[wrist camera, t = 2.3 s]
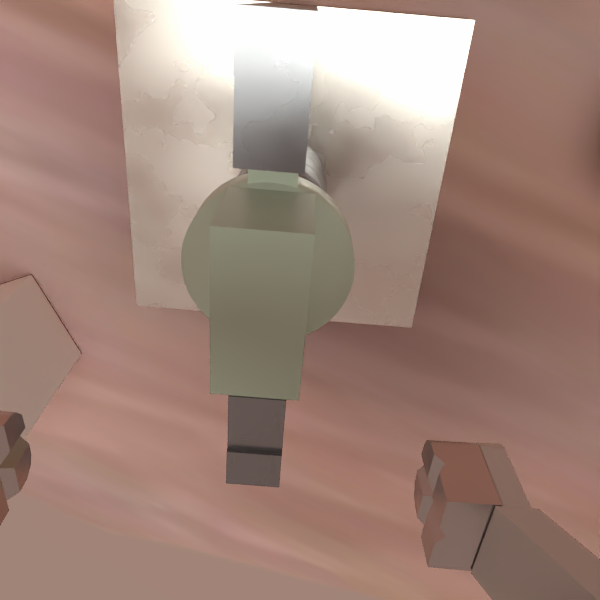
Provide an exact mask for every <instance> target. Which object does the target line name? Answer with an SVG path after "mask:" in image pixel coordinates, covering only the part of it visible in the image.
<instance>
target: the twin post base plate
mask: <svg viewBox="0 0 600 600" xmlns="http://www.w3.org/2000/svg"><path fill="white" fill-rule="evenodd" d="M114 13H115V26H116V39H117V52H118V66H119V79H120V92H121V105H122V118H123V131H124V145H125V158H126V171H127V184H128V197H129V210H130V224H131V237H132V250H133V263H134V276H135V289H136V302H137V306H147V307H159V308H172V309H184V310H197V311H201V310H200V309H199V308H198V307H197V305H196V304H195V302H194V301H193V300H192V298H191V296H190V294H189V292H188V290H187V288H186V285H185V283H184V279H183V275H182V269H181V250H182V244H183V240H184V237H185V234H186V232H187V229H188V228H189V226H190V224H191V222H192V220H193V218H194V217H195V215H196V213H197V211H198V209H199V208H200V206H201V205H202V203H203V202H204V201H205V199H206V198H207V197H208V196H209V195H210V194H211V193H212V192H213V191H214V190H215V189H217V188H218V187H219V186H220V185H222V184H223V183H225V182H227V181H229V180H230V179H233V178H235V177H238V176H240V175H243V174H247V173H248V169H251V170H263V171H275V172H286V173H298V176H299V177H301V178H304V179H306V180H308V181H310V182H312V183H313V184H315V185H317V186H318V187H319V188H321V189H322V190H323V191H325V192H326V193H327V194H328V195H329V196H330V197H331V198H332V199H333V200H334V201H335V203H336V204H337V205H338V207H339V208H340V209H341V211H342V213H343V215H344V217H345V219H346V221H347V224H348V226H349V230H350V234H351V238H352V245H353V252H354V262H355V270H354V279H353V283H352V287H351V290H350V292H349V295H348V297H347V299H346V301H345V303H344V304H343V306H342V307H341V308H340V310H339V311H338V313H337V314H336V315H335V316H334V317H333V318H332V319H331V320H330V321H334V322H347V323H359V324H372V325H384V326H397V327H409V328H412V324H413V319H414V314H415V309H416V304H417V299H418V295H419V290H420V285H421V280H422V275H423V270H424V266H425V261H426V256H427V251H428V246H429V241H430V236H431V232H432V227H433V222H434V217H435V212H436V207H437V202H438V198H439V193H440V188H441V183H442V178H443V173H444V168H445V164H446V159H447V154H448V149H449V144H450V139H451V135H452V130H453V125H454V120H455V115H456V110H457V105H458V101H459V96H460V91H461V86H462V81H463V76H464V71H465V67H466V62H467V57H468V52H469V47H470V42H471V37H472V33H473V28H474V23H475V20H469V19H457V18H446V17H435V16H423V15H412V14H401V13H389V12H378V11H367V10H355V9H344V8H333V7H321V6H310V5H299V4H287V3H276V2H265V1H253V0H114ZM285 408H286V399H273V398H260V397H247V396H234V395H229V396H228V448H227V467H226V483H229V484H242V485H255V486H268V487H279V480H280V468H281V456H282V444H283V432H284V420H285Z"/></svg>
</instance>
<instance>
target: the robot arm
mask: <svg viewBox="0 0 600 600" xmlns="http://www.w3.org/2000/svg"><path fill="white" fill-rule="evenodd" d="M24 429H25V424H24V420H23V417H22V415H21V414H19V413H17V412H9V411H0V525H1V523H2V522H3V520H4V518H5V516H6V515H7V513H8V511H9V508H8V505H7V500H8V499H10V498H11V497H13V496H14V495H16V494H17V493H19V492H20V491H21V489H22V487H23V485H24V484H25V482H26V480H27V477H28V473H29V469H30V466H31V451H30V446H29V444H28V443H27V442H26V441H25V440H24V439H23V438H22V437H21V436H20V435H21V434H22V432H23V431H24ZM422 458H423V463H424V466H422V467H421V468H420V469H419V470H417V475H416V480H415V490H414V499H415V508H416V514H417V518H418V519H419V520H420V521H421V522H422V523H423V524H424V528H423V532H422V536H421V538H422V542H423V547H424V552H425V556H426V561H427V565H428V567H434V568H445V569H456V570H467V571H472V572H471V574H472V575H473V576H474V577H475V579H476V580H477V581H478V582H479V584H480V585H481V586H482V587H483V589H484V590H485V591H486V592H487V594H488V595H489V596H490V597H491V599H492V600H600V559H599V558H597V557H596V556H595V555H594V554H593V553H591V552H590V551H589V550H588V549H587V548H585V547H584V546H583V545H582V544H581V543H579V542H578V541H577V540H576V539H574V538H573V537H572V536H571V535H570V534H568V533H567V532H566V531H565V530H564V529H562V528H561V527H560V526H559V525H558V524H556V523H555V522H554V521H553V520H552V519H550V518H549V517H548V516H547V515H546V514H544V513H543V512H542V511H541V510H539V509H533V508H531V506H530V504H529V502H528V500H527V497H526V495H525V493H524V491H523V488H522V486H521V484H520V482H519V479H518V477H517V475H516V473H515V470H514V468H513V466H512V464H511V461H510V459H509V457H508V455H507V452H506V450H505V448H504V447H503V446H502V445H501V444H490V443H467V442H450V441H434V440H427V441H426V443H425V444H424V447H423V451H422Z"/></svg>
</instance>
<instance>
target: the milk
mask: <svg viewBox="0 0 600 600" xmlns="http://www.w3.org/2000/svg"><path fill="white" fill-rule="evenodd" d="M80 355H81V352H80V351H79V349H78V348H77V346H76V344H75V343H74V341H73V340H72V338H71V336H70V335H69V333H68V332H67V330H66V329H65V327H64V325H63V324H62V322H61V321H60V319H59V317H58V316H57V314H56V313H55V311H54V309H53V308H52V306H51V305H50V303H49V302H48V300H47V298H46V297H45V295H44V294H43V292H42V290H41V289H40V287H39V286H38V284H37V283H36V281H35V279H34V278H33V276H32V275H29V276H26V277H22V278H19V279H16V280H13V281H10V282H7V283H4V284H1V285H0V411H9V412H17V413H19V414H21V415H22V417H23V420H24V424H25V429H24V431H23V432H22V434H21V435H20V436H21V437H22V438H23V439H25V438H26V436H27V435H28V433H29V432H30V430H31V429H32V427H33V426H34V424H35V423H36V421H37V420H38V418H39V417H40V415H41V414H42V412H43V411H44V409H45V408H46V406H47V405H48V403H49V402H50V400H51V399H52V397H53V396H54V394H55V393H56V391H57V390H58V388H59V387H60V385H61V384H62V382H63V381H64V379H65V378H66V376H67V375H68V373H69V372H70V370H71V369H72V367H73V366H74V364H75V363H76V361H77V360H78V358H79V357H80Z"/></svg>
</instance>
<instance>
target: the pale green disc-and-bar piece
mask: <svg viewBox="0 0 600 600" xmlns="http://www.w3.org/2000/svg"><path fill="white" fill-rule="evenodd" d="M181 269H182V275H183V279H184V283H185V285H186V288H187V290H188V292H189V294H190V296H191V298H192V300H193V301H194V302H195V304H196V305H197V307H198V308H199V309H200V310H201V311H202V312H203V313H204V314H205V316H206V317H208V318H209V319H210V394H221V395H234V396H247V397H260V398H273V399H286V400H298V401H299V396H300V386H301V376H302V365H303V355H304V345H305V335H307V334H309V333H312V332H314V331H315V330H317V329H319V328H320V327H322V326H323V325H325V324H326V323H327V322H328V321H330V320H331V319H332V318H333V317H334V316H335V315H336V314H337V313H338V311H339V310H340V308H341V307H342V306H343V304H344V303H345V301H346V299H347V297H348V295H349V292H350V290H351V287H352V283H353V279H354V270H355V262H354V252H353V245H352V238H351V234H350V230H349V226H348V224H347V221H346V219H345V217H344V215H343V213H342V211H341V209H340V208H339V207H338V205H337V204H336V203H335V201H334V200H333V199H332V198H331V197H330V196H329V195H328V194H327V193H326V192H325V191H323V190H322V189H321V188H319V187H318V186H317V185H315V184H313V183H312V182H310V181H308V180H306V179H304V178H301V177H299V176H298V173H286V172H275V171H263V170H251V169H248V173H247V174H243V175H240V176H238V177H235V178H233V179H230V180H229V181H227V182H225V183H223V184H222V185H220V186H219V187H218V188H217V189H215V190H214V191H213V192H212V193H211V194H210V195H209V196H208V197H207V198H206V199H205V201H204V202H203V203H202V205H201V206H200V208H199V209H198V211H197V213H196V215H195V217H194V218H193V220H192V222H191V224H190V226H189V228H188V229H187V232H186V234H185V237H184V240H183V244H182V250H181Z"/></svg>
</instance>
